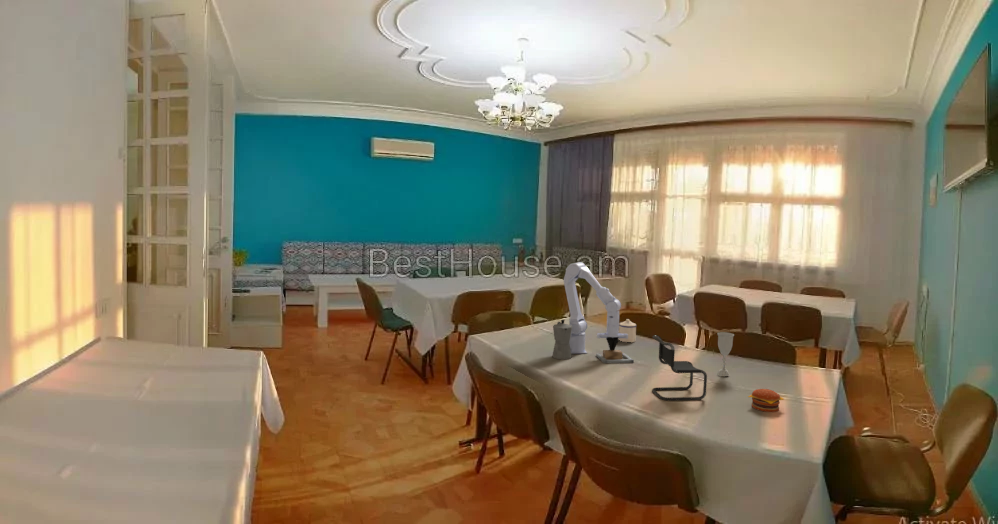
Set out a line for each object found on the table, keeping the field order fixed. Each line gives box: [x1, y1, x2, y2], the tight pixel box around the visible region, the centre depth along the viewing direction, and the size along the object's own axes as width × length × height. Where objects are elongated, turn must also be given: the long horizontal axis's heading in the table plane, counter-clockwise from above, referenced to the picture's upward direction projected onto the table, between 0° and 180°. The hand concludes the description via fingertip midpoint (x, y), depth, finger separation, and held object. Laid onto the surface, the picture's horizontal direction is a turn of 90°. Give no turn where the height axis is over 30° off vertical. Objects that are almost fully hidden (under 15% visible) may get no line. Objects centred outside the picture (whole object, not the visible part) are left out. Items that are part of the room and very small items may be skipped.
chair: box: [651, 335, 708, 402], centre depth 218 cm, size 13×17×22 cm
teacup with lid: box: [618, 318, 637, 343], centre depth 307 cm, size 12×9×12 cm
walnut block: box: [602, 349, 623, 360], centre depth 269 cm, size 8×5×4 cm, turn 93°
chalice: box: [717, 331, 735, 377], centre depth 245 cm, size 7×7×18 cm
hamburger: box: [747, 388, 785, 413], centre depth 206 cm, size 9×10×7 cm
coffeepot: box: [552, 319, 572, 360], centre depth 272 cm, size 15×9×18 cm, turn 8°
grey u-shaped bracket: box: [595, 352, 635, 364], centre depth 269 cm, size 14×12×1 cm
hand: (611, 352), depth 273 cm, fingers closed
